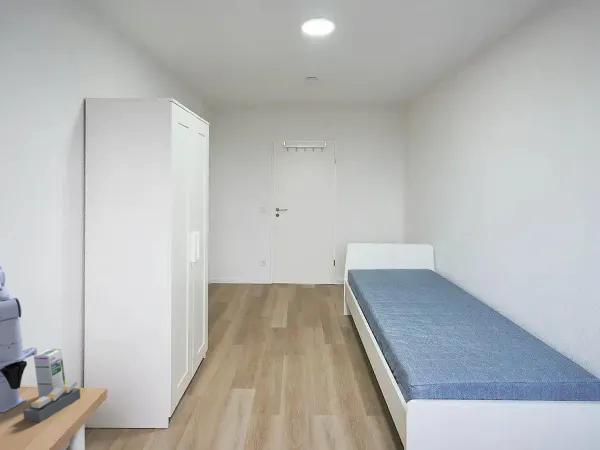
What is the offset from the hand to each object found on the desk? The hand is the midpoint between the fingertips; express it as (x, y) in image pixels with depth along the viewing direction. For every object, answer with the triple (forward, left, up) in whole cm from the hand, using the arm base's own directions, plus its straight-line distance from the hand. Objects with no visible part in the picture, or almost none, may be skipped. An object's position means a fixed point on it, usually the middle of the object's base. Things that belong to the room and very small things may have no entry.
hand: (15, 388), depth 129 cm
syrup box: (-5, +16, -11) cm, 20 cm away
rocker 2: (+4, +9, -6) cm, 11 cm away
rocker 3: (+4, +14, -6) cm, 16 cm away
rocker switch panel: (+3, +9, -10) cm, 14 cm away
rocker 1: (+4, +4, -6) cm, 8 cm away
